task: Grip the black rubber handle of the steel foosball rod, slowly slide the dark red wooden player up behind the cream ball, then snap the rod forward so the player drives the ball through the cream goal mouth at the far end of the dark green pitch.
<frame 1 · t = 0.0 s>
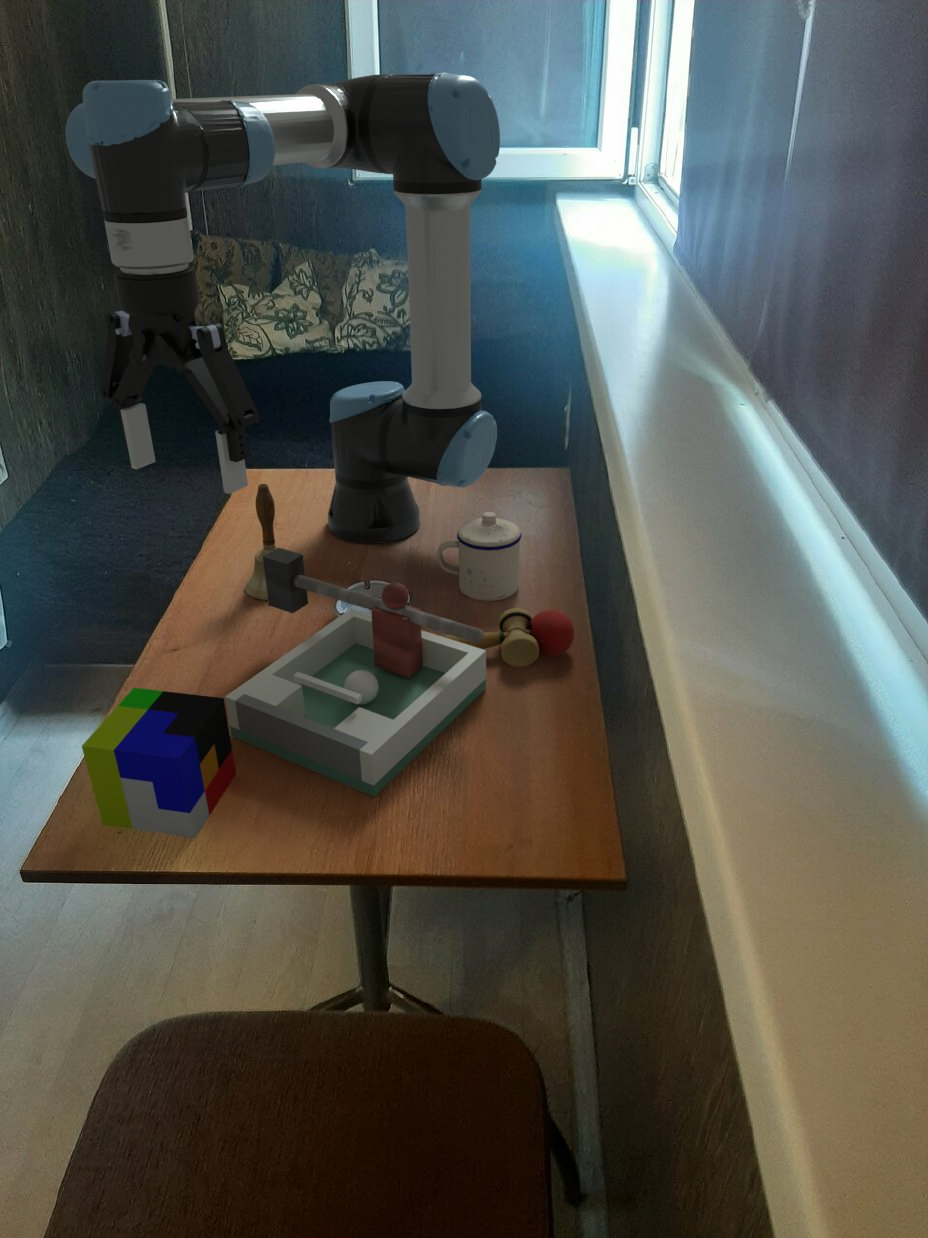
hand: (188, 477, 100), 28 cm above the table, fingers open, 13 cm apart
hand bell: (273, 588, 139), on the table
ball: (361, 687, 109), point 3 cm above the table, touching pitch
teacup with lid: (478, 588, 138), on the table
puzzle toy: (171, 800, 98), on the table
striker: (371, 618, 114), point 8 cm above the table, slide at 0.0 cm
kendama: (503, 656, 122), on the table
pitch: (363, 711, 111), on the table
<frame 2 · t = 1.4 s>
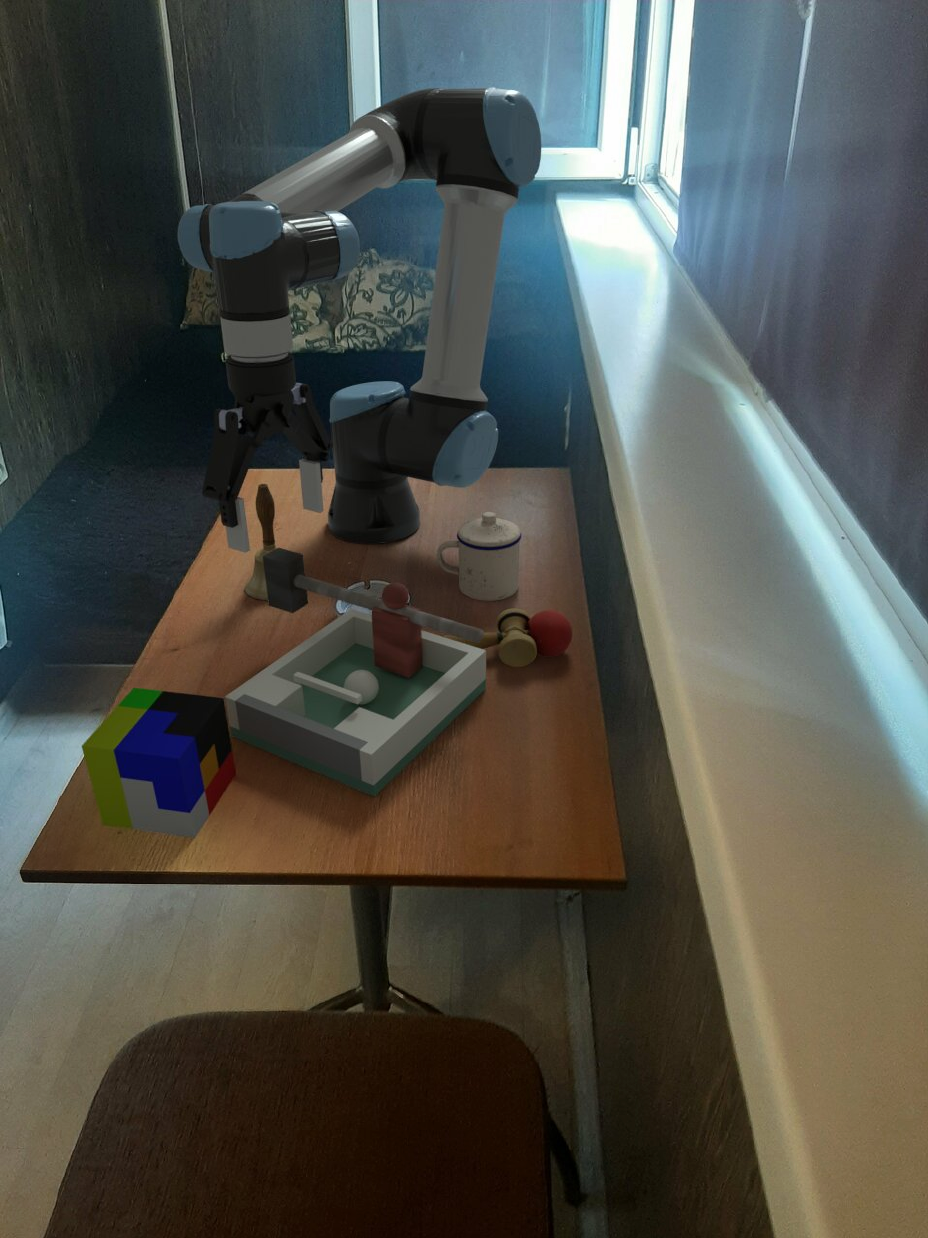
hand: (278, 529, 116), 17 cm above the table, fingers open, 13 cm apart
nothing on the table moved.
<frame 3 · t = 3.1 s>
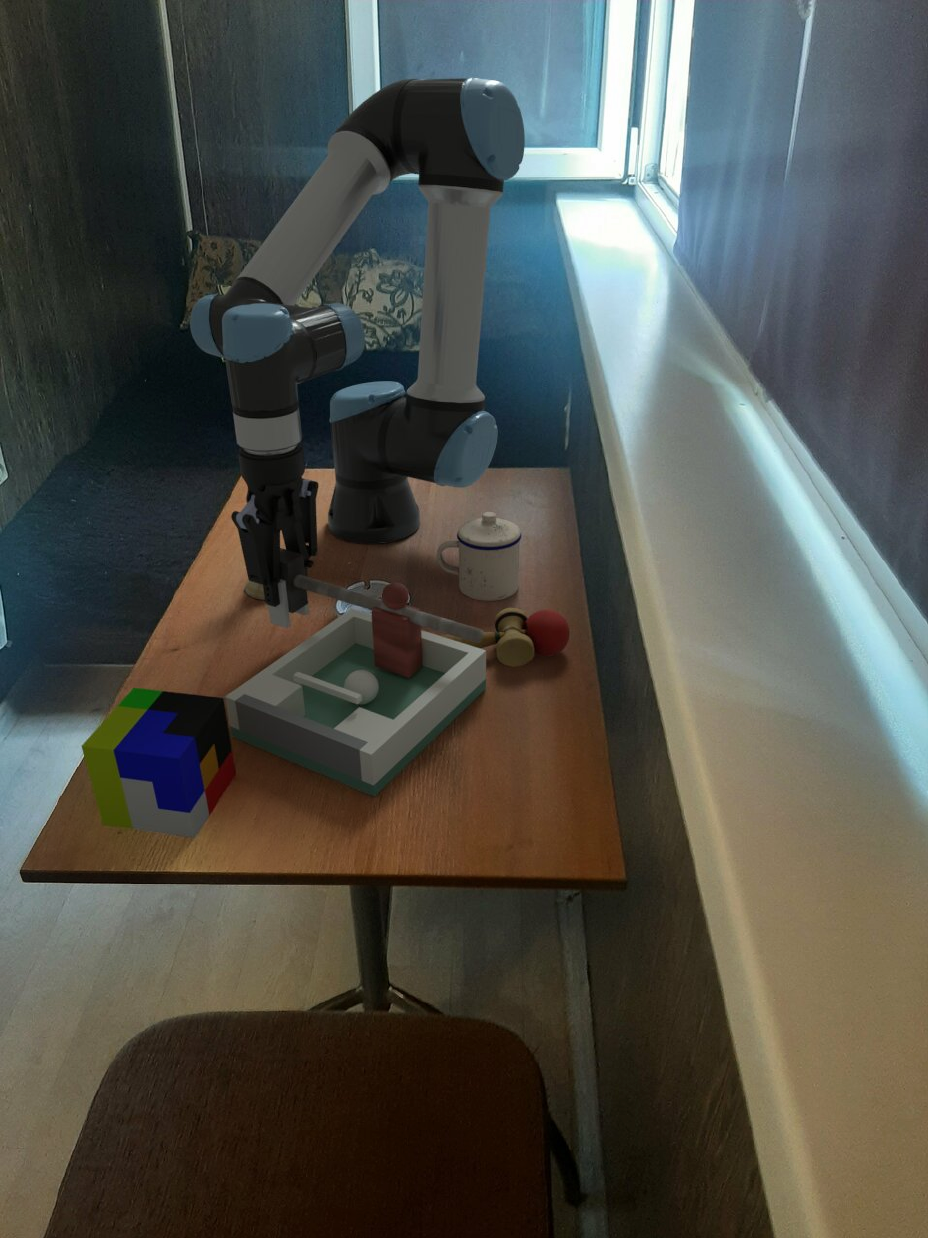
hand: (290, 617, 122), 4 cm above the table, fingers closed on striker, 3 cm apart
striker: (371, 618, 114), point 8 cm above the table, slide at 0.0 cm, touching gripper
everything else where it was.
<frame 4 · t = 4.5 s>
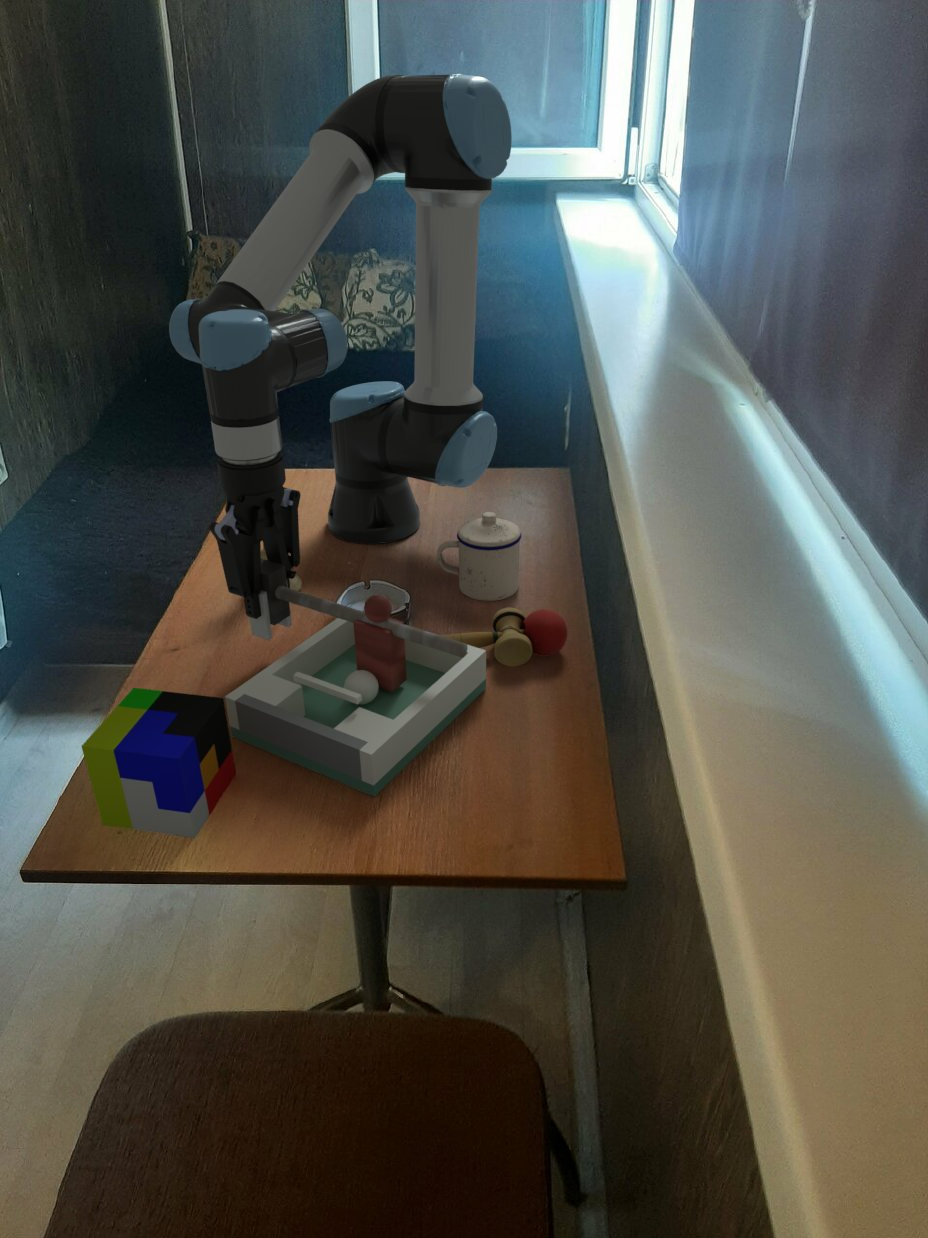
hand: (272, 629, 120), 4 cm above the table, fingers closed on striker, 3 cm apart
striker: (353, 630, 112), point 8 cm above the table, slide at 3.5 cm, touching gripper
everything else where it was.
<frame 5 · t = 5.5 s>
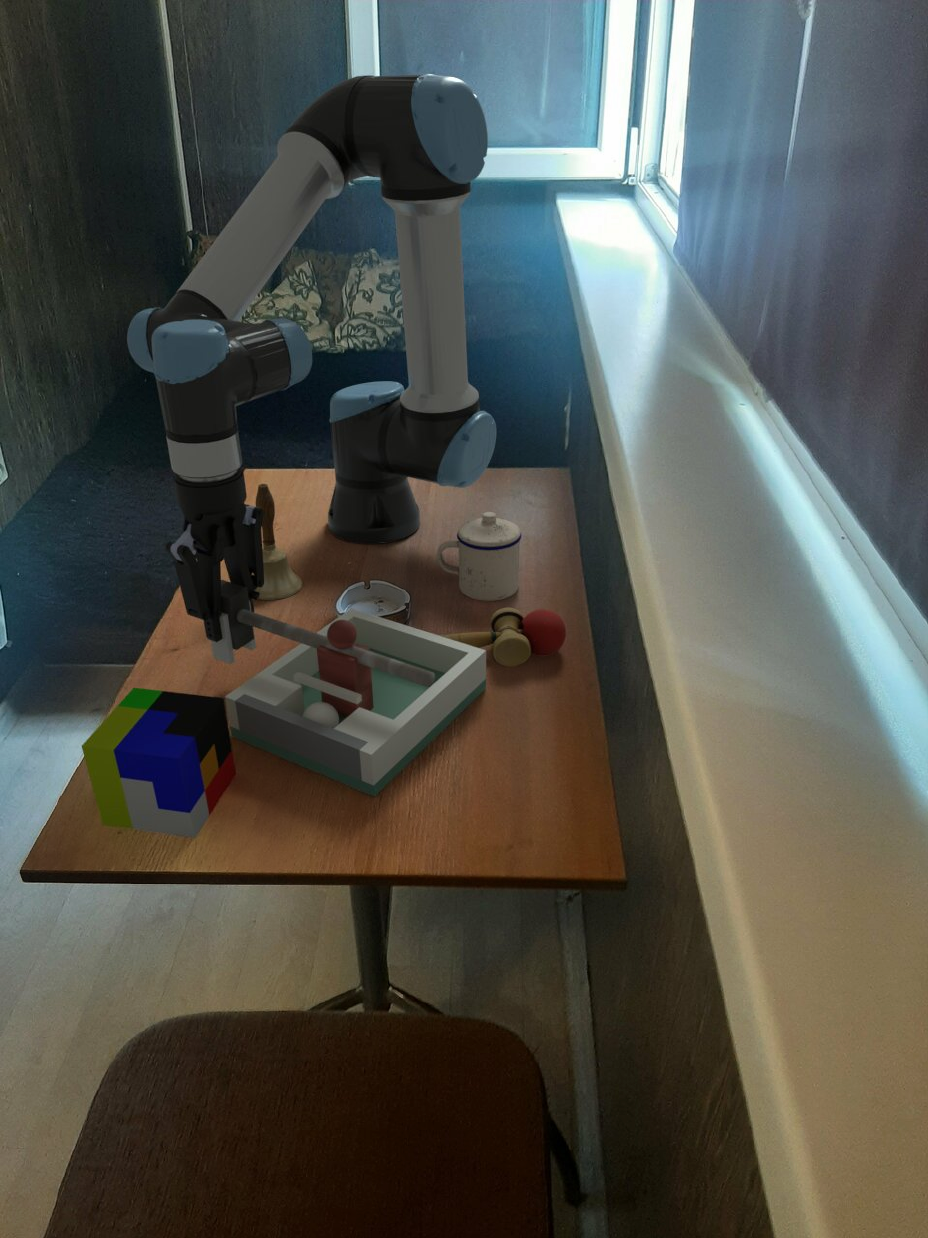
hand: (235, 652, 115), 4 cm above the table, fingers closed on striker, 3 cm apart
ball: (320, 720, 104), point 3 cm above the table, tilted 155°, touching pitch
striker: (318, 656, 107), point 8 cm above the table, slide at 10.1 cm, touching gripper
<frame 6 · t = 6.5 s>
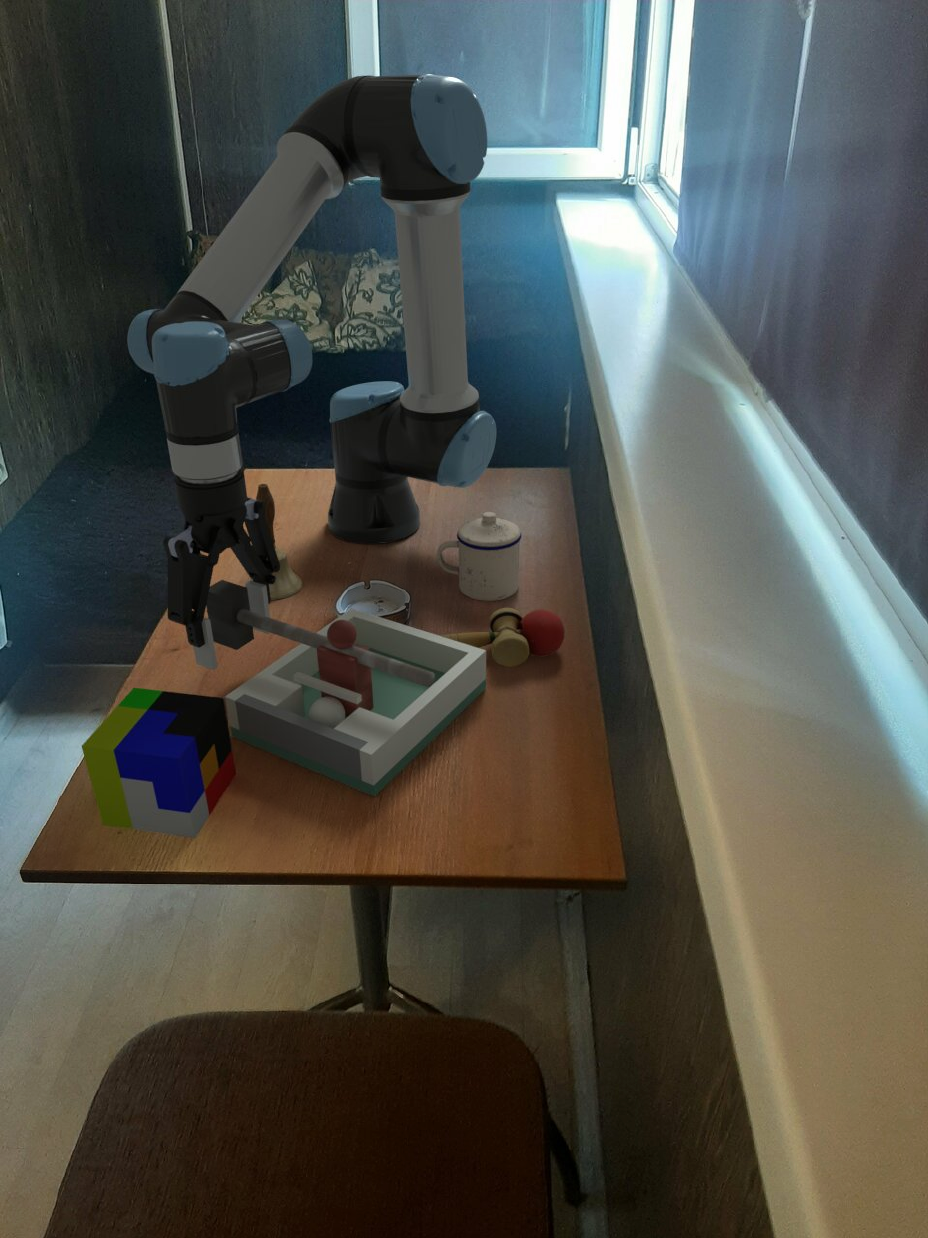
hand: (235, 647, 115), 5 cm above the table, fingers open, 9 cm apart
ball: (327, 714, 105), point 3 cm above the table, tilted 172°, touching pitch
striker: (318, 656, 107), point 8 cm above the table, slide at 10.1 cm
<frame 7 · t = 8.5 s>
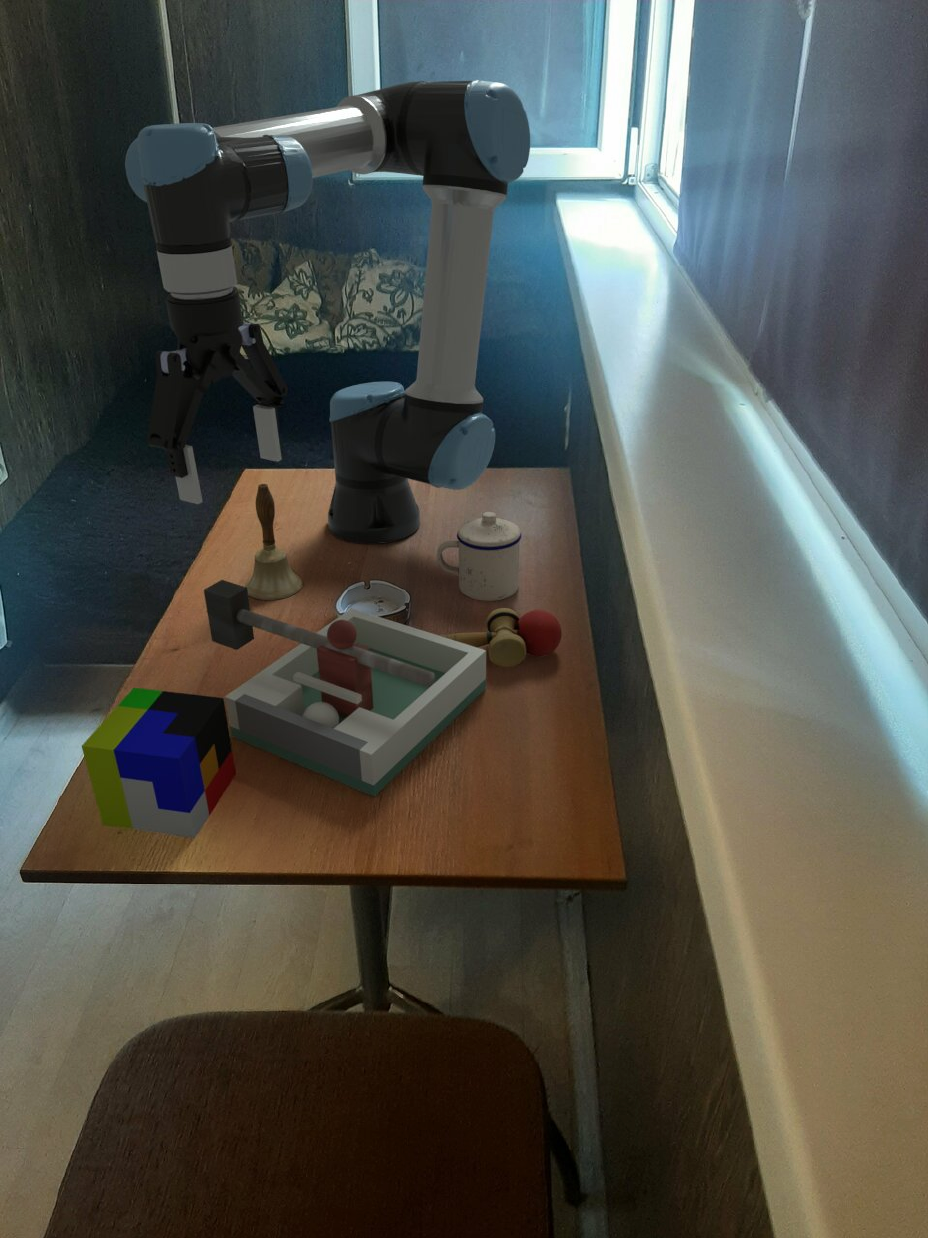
hand: (233, 479, 110), 24 cm above the table, fingers open, 13 cm apart
ball: (320, 720, 104), point 3 cm above the table, tilted 156°, touching pitch
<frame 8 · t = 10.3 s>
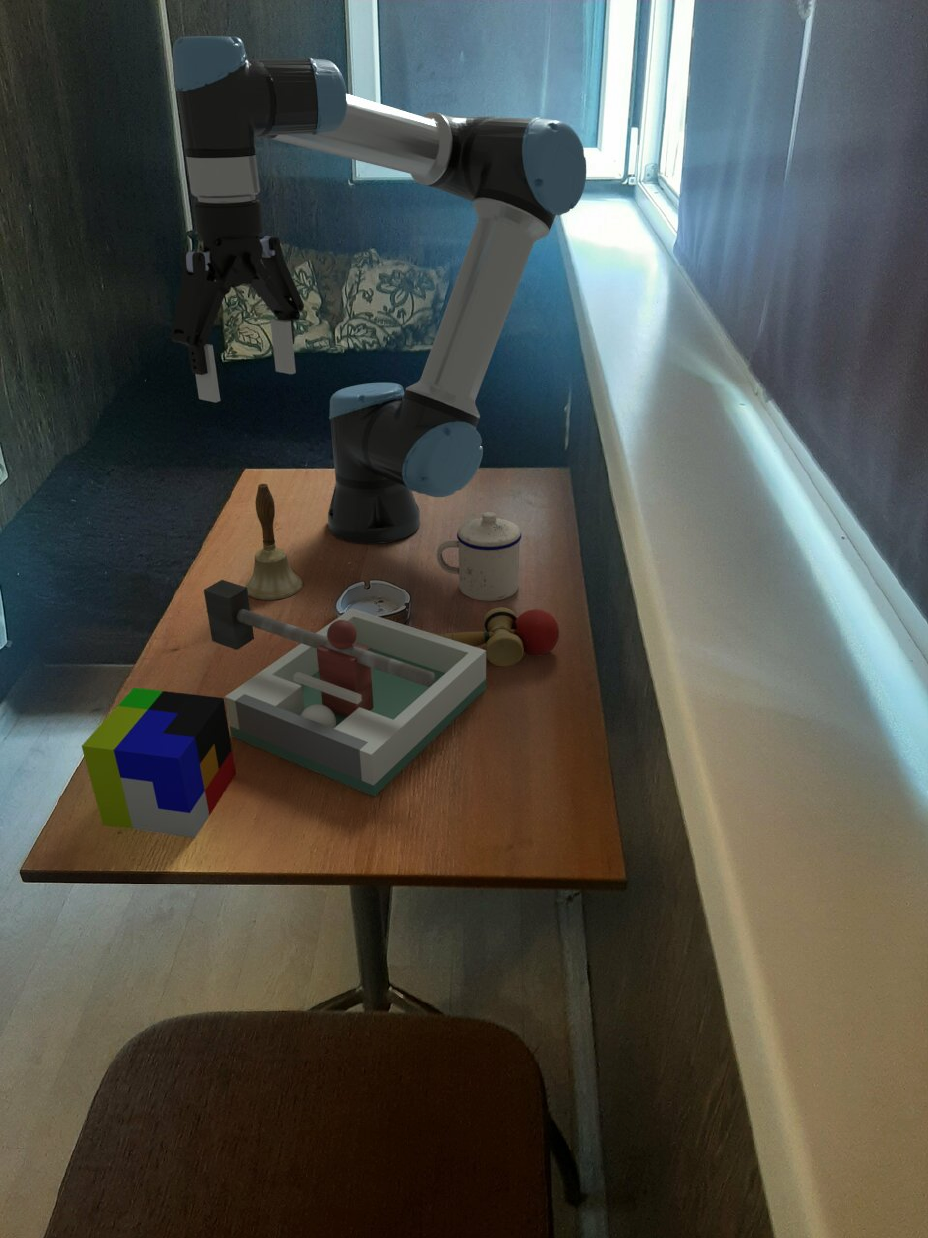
hand: (249, 385, 116), 32 cm above the table, fingers open, 13 cm apart
ball: (317, 722, 104), point 3 cm above the table, tilted 140°, touching pitch
at the end: ball 0.0 cm from the target spot on the pitch, point 3.5 cm above the pitch's base; striker slide at 10.1 cm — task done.
